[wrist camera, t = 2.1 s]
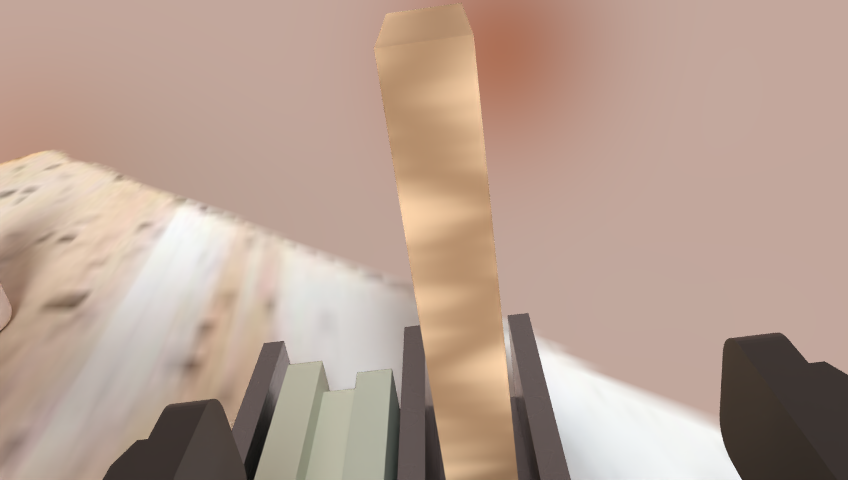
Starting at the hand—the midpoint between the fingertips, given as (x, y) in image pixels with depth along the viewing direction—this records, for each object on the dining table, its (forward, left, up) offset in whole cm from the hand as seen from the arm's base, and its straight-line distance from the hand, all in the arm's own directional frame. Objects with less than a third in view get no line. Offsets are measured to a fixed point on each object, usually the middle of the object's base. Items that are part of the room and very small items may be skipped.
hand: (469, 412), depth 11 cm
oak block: (0, +12, -16) cm, 20 cm away
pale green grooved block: (-6, +12, -16) cm, 20 cm away
